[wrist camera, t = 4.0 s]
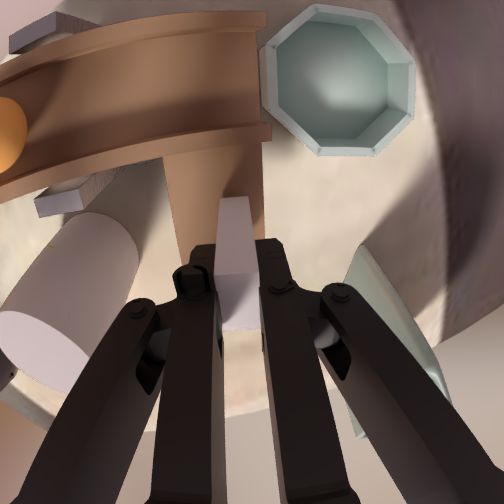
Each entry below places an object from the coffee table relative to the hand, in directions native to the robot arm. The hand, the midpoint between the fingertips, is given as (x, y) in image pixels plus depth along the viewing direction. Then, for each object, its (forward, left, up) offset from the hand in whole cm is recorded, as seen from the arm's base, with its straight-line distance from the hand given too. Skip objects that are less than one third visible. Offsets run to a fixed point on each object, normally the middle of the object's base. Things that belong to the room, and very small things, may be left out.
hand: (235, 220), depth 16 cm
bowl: (+7, +7, -7) cm, 12 cm away
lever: (-8, +4, +1) cm, 9 cm away
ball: (-10, +7, +4) cm, 13 cm away
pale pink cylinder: (-13, -5, -7) cm, 15 cm away
